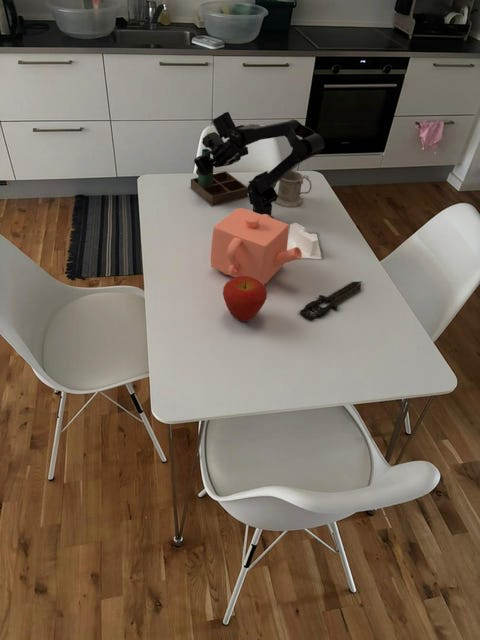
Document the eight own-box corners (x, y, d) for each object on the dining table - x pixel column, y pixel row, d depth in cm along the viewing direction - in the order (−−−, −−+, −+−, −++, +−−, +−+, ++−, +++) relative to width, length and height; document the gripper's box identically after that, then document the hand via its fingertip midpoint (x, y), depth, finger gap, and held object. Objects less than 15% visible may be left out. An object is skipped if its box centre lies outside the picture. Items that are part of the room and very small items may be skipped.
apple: (271, 316, 136) (276, 281, 128) (246, 336, 129) (249, 300, 121) (239, 298, 141) (242, 263, 133) (213, 317, 134) (215, 280, 126)
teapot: (311, 270, 153) (321, 218, 142) (277, 309, 138) (285, 255, 127) (241, 243, 162) (244, 192, 150) (202, 277, 147) (203, 224, 135)
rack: (247, 196, 186) (248, 187, 184) (212, 206, 179) (212, 196, 177) (225, 179, 195) (225, 171, 193) (190, 188, 188) (190, 179, 186)
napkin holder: (322, 258, 158) (325, 243, 155) (286, 257, 158) (289, 241, 154) (316, 233, 170) (319, 218, 166) (283, 231, 169) (285, 216, 165)
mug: (269, 198, 186) (272, 167, 178) (287, 191, 191) (291, 161, 183) (297, 214, 179) (302, 183, 171) (316, 206, 184) (321, 176, 176)
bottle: (208, 193, 185) (209, 154, 175) (195, 189, 186) (195, 151, 177) (215, 187, 188) (216, 149, 179) (202, 183, 190) (203, 146, 180)
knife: (357, 281, 151) (358, 277, 150) (373, 292, 147) (374, 288, 146) (294, 309, 139) (295, 306, 138) (310, 323, 135) (311, 319, 134)
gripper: (236, 121, 174) (213, 143, 187) (198, 134, 163) (175, 156, 176) (252, 150, 176) (227, 170, 188) (214, 165, 165) (191, 185, 177)
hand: (205, 169), depth 182 cm, fingers open, 9 cm apart
